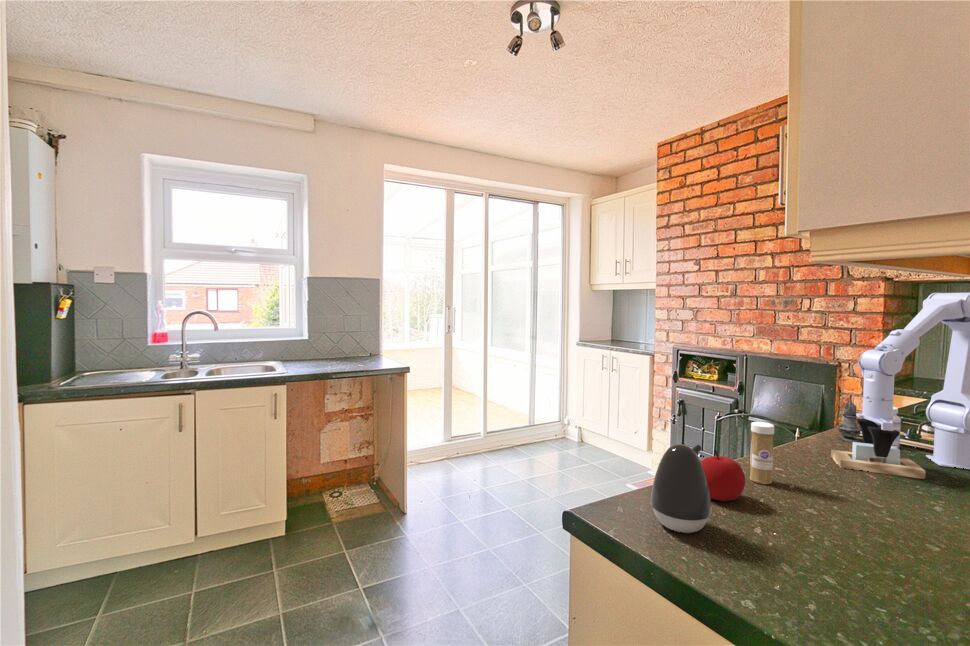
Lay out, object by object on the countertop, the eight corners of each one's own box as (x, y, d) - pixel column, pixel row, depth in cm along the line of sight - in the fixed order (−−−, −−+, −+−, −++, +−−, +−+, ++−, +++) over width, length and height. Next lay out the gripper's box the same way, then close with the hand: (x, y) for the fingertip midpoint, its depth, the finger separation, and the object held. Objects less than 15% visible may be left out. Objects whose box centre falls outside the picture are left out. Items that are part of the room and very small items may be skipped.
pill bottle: (867, 441, 135) (869, 404, 134) (892, 443, 133) (894, 405, 132) (878, 447, 129) (879, 408, 128) (904, 449, 127) (906, 410, 126)
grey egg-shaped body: (723, 531, 81) (726, 448, 80) (686, 546, 76) (688, 457, 75) (675, 508, 90) (676, 433, 89) (638, 520, 85) (640, 441, 84)
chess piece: (866, 442, 133) (868, 402, 132) (846, 442, 133) (848, 402, 133) (851, 436, 139) (852, 398, 138) (831, 436, 139) (833, 398, 138)
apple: (721, 510, 89) (723, 460, 89) (685, 492, 98) (687, 447, 97) (754, 502, 93) (756, 454, 92) (717, 486, 101) (718, 442, 101)
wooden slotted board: (909, 466, 114) (909, 458, 114) (925, 479, 106) (925, 470, 105) (830, 456, 121) (831, 449, 120) (840, 468, 112) (840, 460, 112)
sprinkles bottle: (756, 485, 102) (758, 426, 101) (745, 477, 106) (747, 420, 106) (777, 485, 102) (779, 426, 101) (764, 477, 106) (766, 421, 106)
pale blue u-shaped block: (894, 468, 113) (895, 446, 112) (899, 472, 110) (900, 450, 110) (851, 462, 116) (852, 441, 116) (855, 466, 114) (856, 445, 113)
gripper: (849, 391, 120) (847, 441, 121) (867, 402, 107) (864, 458, 108) (883, 394, 117) (880, 445, 118) (905, 405, 104) (903, 463, 105)
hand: (875, 452), depth 113 cm, fingers open, 7 cm apart
